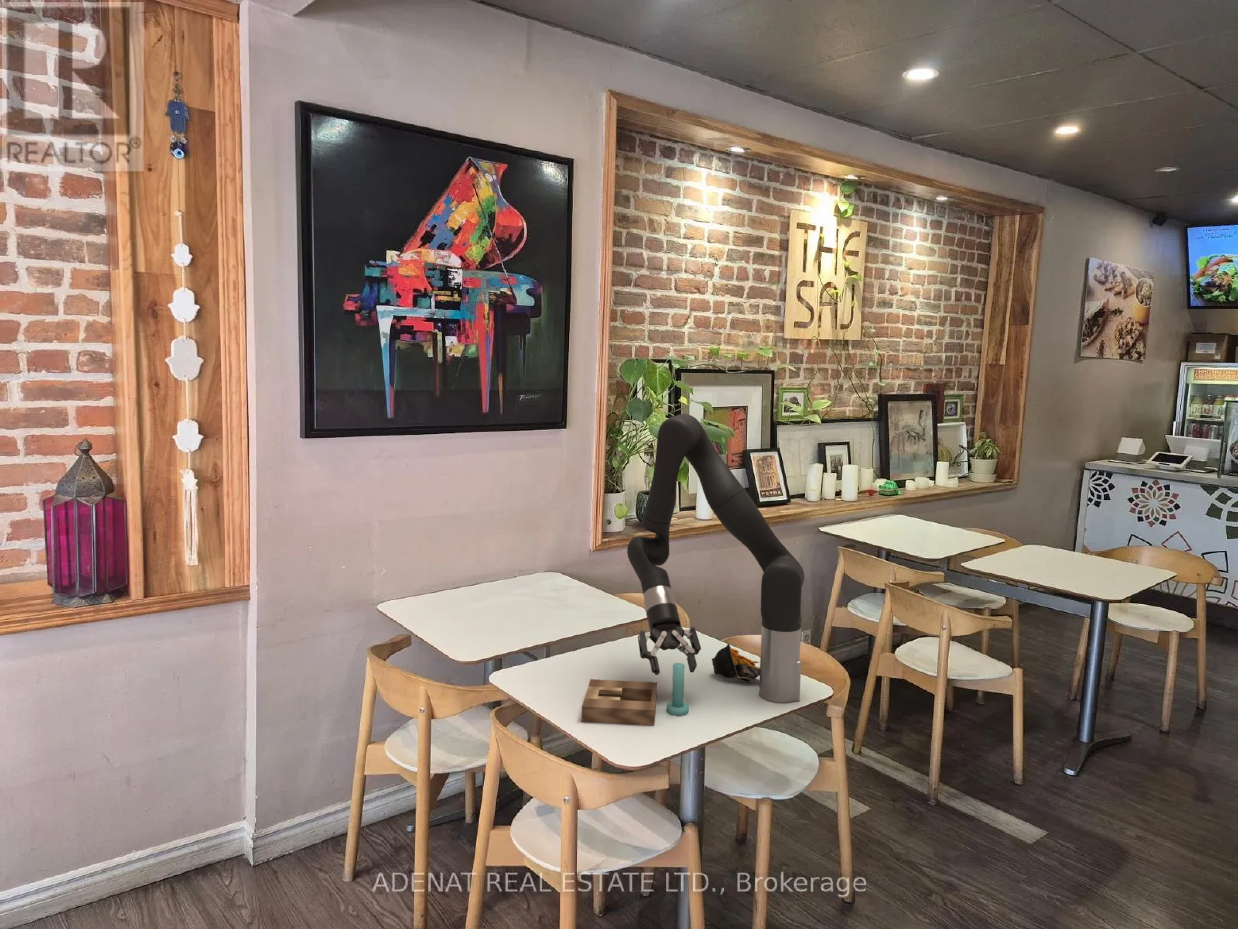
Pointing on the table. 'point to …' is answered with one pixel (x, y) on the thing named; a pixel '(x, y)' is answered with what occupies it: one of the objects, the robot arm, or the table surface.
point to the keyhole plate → (620, 702)
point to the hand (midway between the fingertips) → (675, 672)
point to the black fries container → (734, 665)
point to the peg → (678, 692)
